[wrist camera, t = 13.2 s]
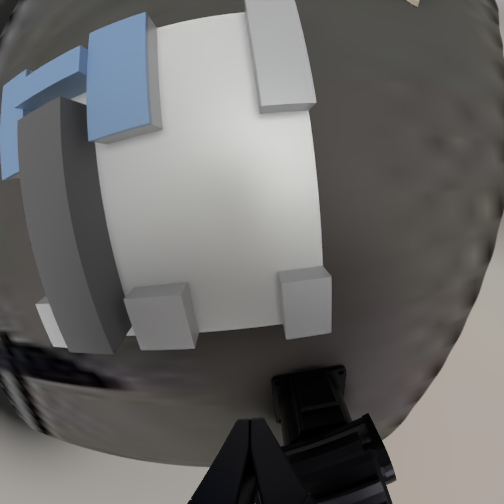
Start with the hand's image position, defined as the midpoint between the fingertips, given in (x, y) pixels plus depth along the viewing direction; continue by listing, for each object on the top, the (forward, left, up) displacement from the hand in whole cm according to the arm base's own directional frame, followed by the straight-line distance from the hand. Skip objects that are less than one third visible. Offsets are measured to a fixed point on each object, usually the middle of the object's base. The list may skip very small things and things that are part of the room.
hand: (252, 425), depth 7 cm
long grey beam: (+6, +11, -11) cm, 17 cm away
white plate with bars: (+8, +6, -12) cm, 16 cm away
